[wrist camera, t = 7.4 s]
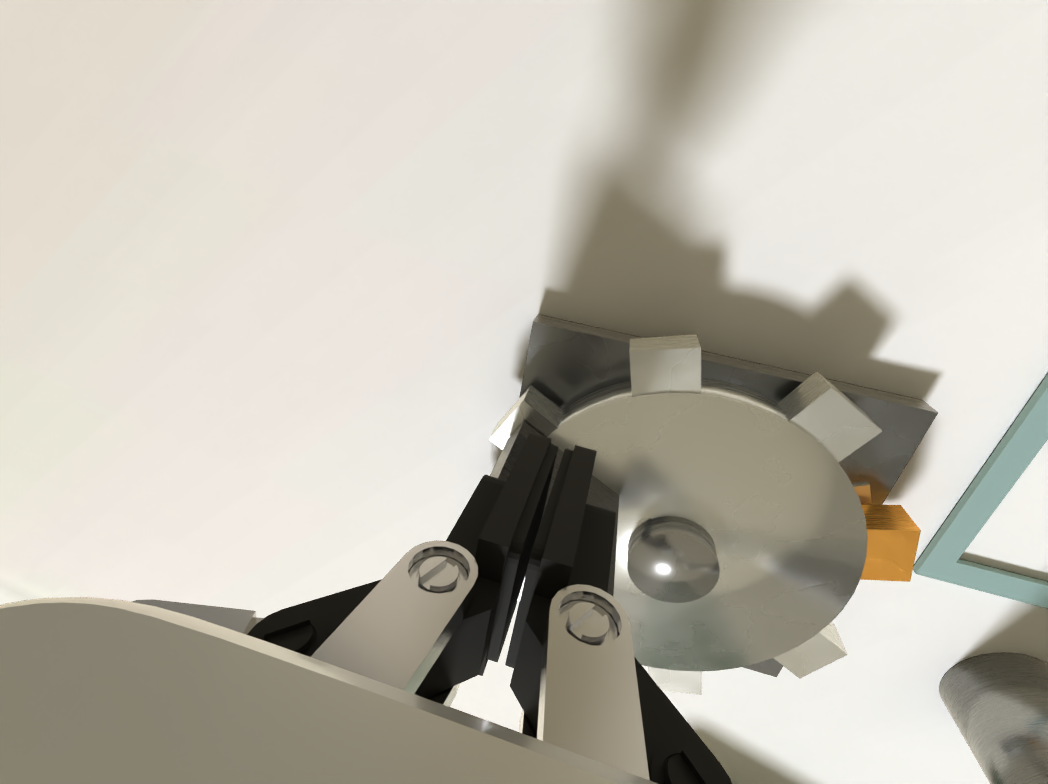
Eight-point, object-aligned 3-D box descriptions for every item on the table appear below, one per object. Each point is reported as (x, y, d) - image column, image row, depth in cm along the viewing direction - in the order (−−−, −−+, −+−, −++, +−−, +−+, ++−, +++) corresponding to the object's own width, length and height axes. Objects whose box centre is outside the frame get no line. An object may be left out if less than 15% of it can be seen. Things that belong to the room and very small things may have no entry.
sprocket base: (922, 400, 17) (940, 414, 16) (771, 657, 23) (777, 679, 22) (538, 314, 19) (532, 322, 18) (490, 575, 25) (484, 592, 24)
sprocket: (659, 236, 16) (675, 286, 9) (1003, 530, 17) (1239, 763, 10) (415, 518, 23) (320, 665, 16) (674, 708, 24) (688, 916, 18)
